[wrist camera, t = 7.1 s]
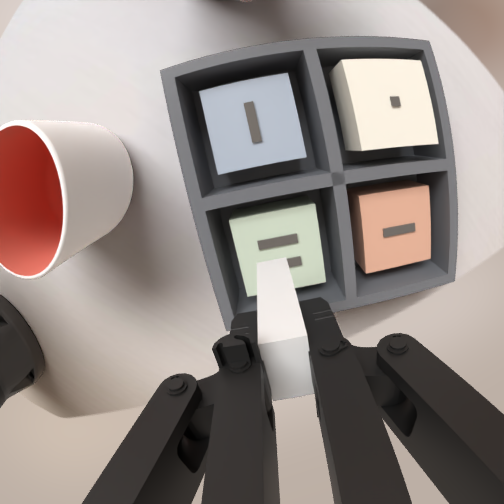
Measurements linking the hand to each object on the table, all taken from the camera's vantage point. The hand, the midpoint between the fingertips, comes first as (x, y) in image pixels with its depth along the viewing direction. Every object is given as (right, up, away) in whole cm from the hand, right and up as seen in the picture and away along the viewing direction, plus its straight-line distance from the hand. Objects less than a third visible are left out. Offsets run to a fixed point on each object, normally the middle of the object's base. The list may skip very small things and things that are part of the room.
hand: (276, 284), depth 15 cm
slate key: (-1, +11, +5) cm, 12 cm away
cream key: (+7, +12, +2) cm, 14 cm away
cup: (-15, +8, +7) cm, 19 cm away
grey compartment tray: (+4, +8, +6) cm, 11 cm away
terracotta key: (+9, +4, +7) cm, 12 cm away
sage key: (+1, +3, +8) cm, 8 cm away
